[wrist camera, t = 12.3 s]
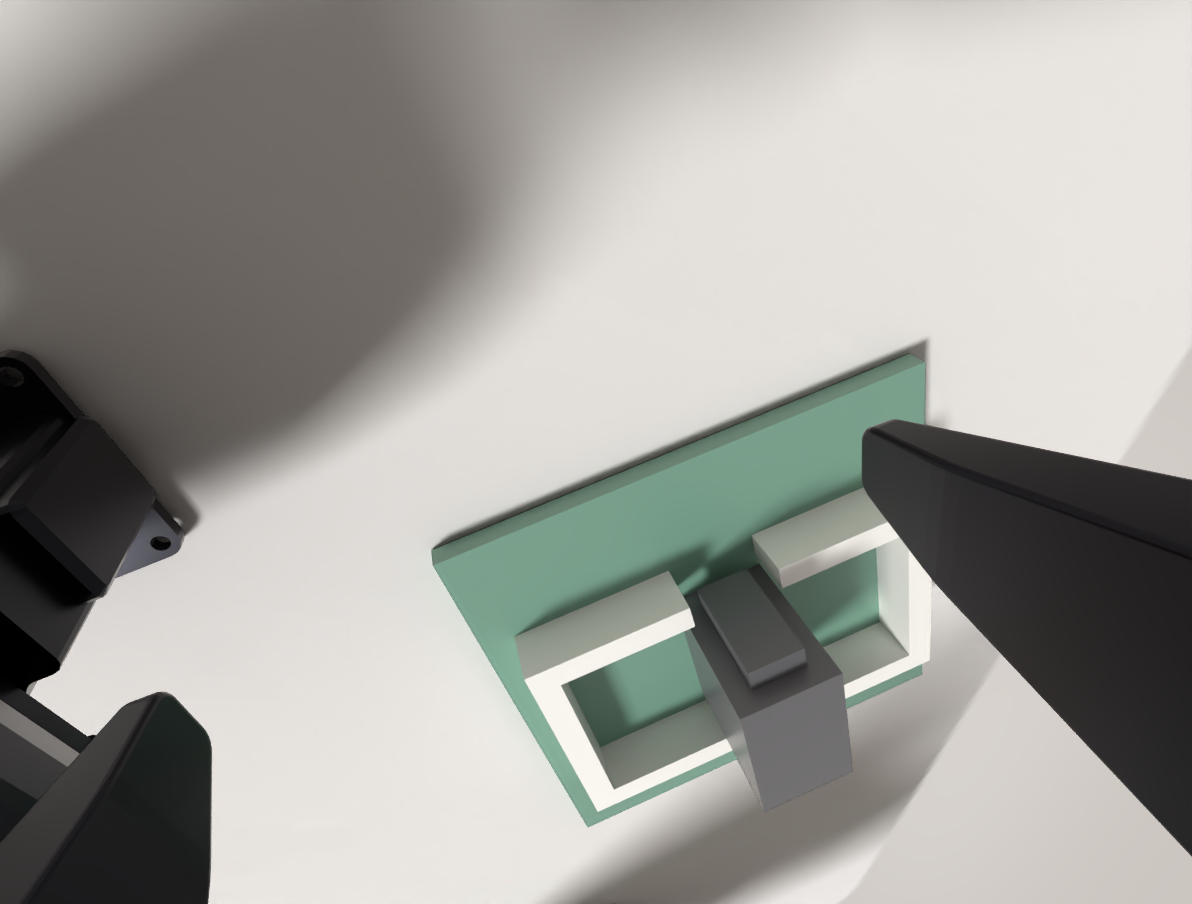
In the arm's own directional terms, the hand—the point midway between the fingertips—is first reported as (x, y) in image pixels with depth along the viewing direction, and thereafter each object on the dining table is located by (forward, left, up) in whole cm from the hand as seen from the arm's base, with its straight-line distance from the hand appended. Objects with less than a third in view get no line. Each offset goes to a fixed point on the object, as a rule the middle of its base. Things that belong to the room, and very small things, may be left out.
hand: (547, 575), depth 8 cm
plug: (+5, -17, -11) cm, 20 cm away
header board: (+5, -17, -12) cm, 21 cm away
